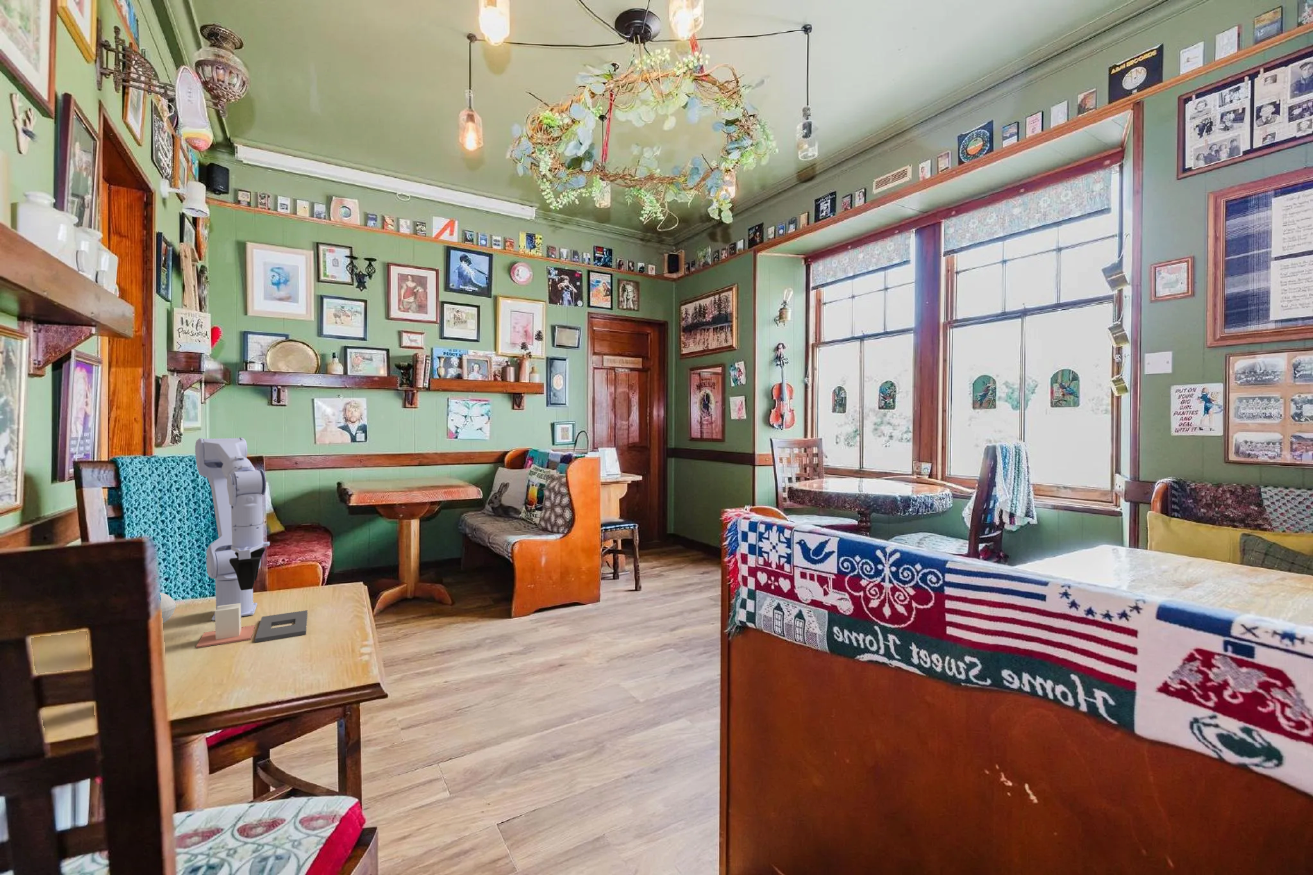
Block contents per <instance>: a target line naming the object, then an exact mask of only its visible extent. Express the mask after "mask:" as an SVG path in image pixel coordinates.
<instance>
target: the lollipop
mask: <svg viewBox="0 0 1313 875" xmlns="http://www.w3.org/2000/svg"><path fill="white" fill-rule="evenodd" d="M159 593H160V595H161V609H162V618H163V623H162V624H164V623H166V622H167V621H169V620H170V619H171V617H172V616H173V615H174V612H175V610H176V608H177V604H176V602H175V600H174V599H173V598H172V597H171V596H170V595H169V594H166V593H163V592H159Z"/></svg>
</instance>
